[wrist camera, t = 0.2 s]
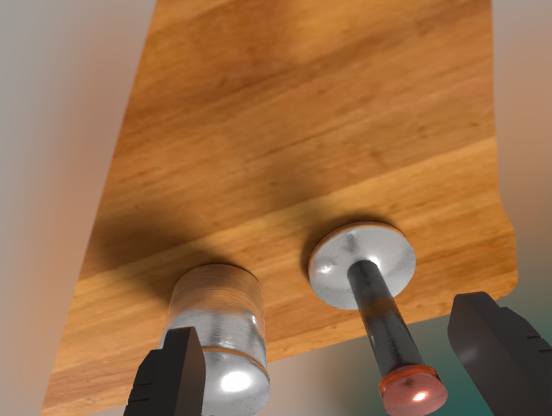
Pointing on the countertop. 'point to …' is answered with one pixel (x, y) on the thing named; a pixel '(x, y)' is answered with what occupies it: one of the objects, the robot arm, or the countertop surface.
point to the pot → (225, 336)
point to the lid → (378, 307)
